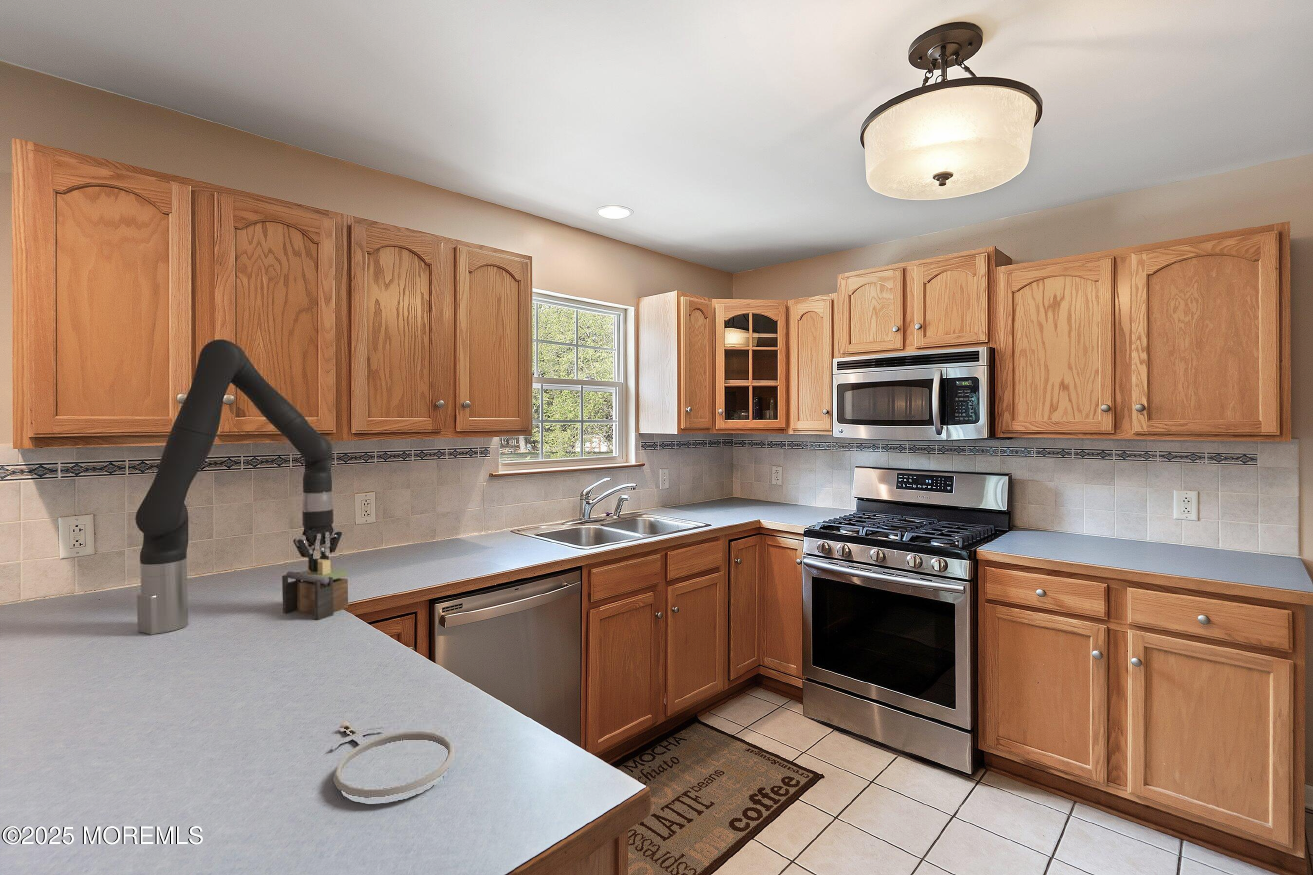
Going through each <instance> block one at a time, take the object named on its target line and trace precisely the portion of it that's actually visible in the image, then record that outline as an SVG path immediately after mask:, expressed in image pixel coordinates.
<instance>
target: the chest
mask: <svg viewBox="0 0 1313 875" xmlns="http://www.w3.org/2000/svg"><path fill="white" fill-rule="evenodd" d="M299 572H300V571H297V573H299ZM328 578H329V583H328V584H321V583H320V581H318V580H317V581H314V582H309V581H303V580H297V579H294V580H291V581H289V578H288V576H287V575H286V574H283V575H282V576H281V580H282V581H281V583H282V584H281V585H282V587H281V588H282V589H281V590H282V592H281V593H282V595H281V596H282V613H283V614H289V613H292V612H295V611H297V612H300V613H301V612H302V613H305V614H311V615H314V619H315V620H316V621H319V620H322V619H325V618H328V617H332V616H334V613H335V612H339V611H342V610H345V609H347V608H349V580H348V578H344V577H341V578H337V579H334V580H333V577H328Z"/></svg>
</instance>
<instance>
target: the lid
mask: <svg viewBox="0 0 1313 875" xmlns="http://www.w3.org/2000/svg"><path fill="white" fill-rule="evenodd" d="M317 559H318V571H317V572H311V571H310V570H309V559H307V570H304V571H297V572H299V573H297V572H296V571H288V572H286V574H285V575H287V576H288V579H293V580H295V579H297V580H301V581H309V582H314V581H317V580H318V581H320V583H321V584H328V583H329V578H328V577H333V580H334V579H337V578H344V577H348V574H349V573H348V570H347V569H341V568H333V567H331V560H330V559H329V560H326V559H320V557H319V558H318V557H317Z"/></svg>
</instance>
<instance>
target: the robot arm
mask: <svg viewBox="0 0 1313 875" xmlns="http://www.w3.org/2000/svg"><path fill="white" fill-rule="evenodd" d="M230 384H232V386H235V388H237V389H238V390H239V391H240V392H242V394H244V395H245V396H246V397H247V398H248V399H249V401H250V402H252V404H253V405H254V406H255V408H256V409H257V410H258V411H259V413H261V414H262V416H263V417H264V418H265V420H267V421H268V422H269V423H270V424H271V425H272V426H273V427H274V428H275V429H276V430H277V431H278V432H279V433H280V434H281V435H282V436H284V437H285V438H286V439H287V440H288V441H289V442H290V443H291V445H292V446H293V447H294V448H295V449H296V450H297V451H298V453H299V454H300V455H301V456H303V458H304V472H303V475H302V499H301V501H302V502H301V509H302V510H301V514H302V515H301V516H302V518H301V523H302V527H303V532H302V534H301V536H300V537H298V538H294V539H293V540H292V541H293V545H294V546H295V548H296V550H297V552H298V553H299V555H300V556H301V558H307V560H309V570H310V571H311V572H317V571H318V559H317V558H318V553H319V559H326V560H330V557H329V556H330V555H331V554H332V553H335V552H336V550H337V548H338V546H339V542H340V540H341V538H342V535H343V532H342V531H337V530H334V527H333V524H334V497H333V496H334V495H333V477H332V465H333V464H332V463H333V444H332V442H331V441H330V440H329V438H327V437H325V436H323V435H322V434H320V433H319V432H318V431H317V430H316V429H315V428H314V427H313V426H312V425H311V424H310V423H309V421H308V420H307V418H306V417H305V416H304V414H302V413H301V412H300V411H299V410H298V409H297V408H296V407H295V406H293V404H292V403H291V402H289V401H288V400H287V399H286V397H284V396H283V395H282V394H281V393H280V392H278V390H276V389H275V388H274V387H273V386H272V385H271V384H270V383H269V382H268V381H267V379H265V378H264V377H263V376H262V375H261V373H260V372H259V371H258V369H256V367H255V366H254V365H253V363H252V362H251V360H250V358H248V356H247V354H246V352H245V351H244V350H243V348H242V347H240V346H239V345H238V344H236V343H234V342H232V341H229V340H227V339H221V338H220V339H219V338H218V339H214V340H211V341H209V342H207V343H206V344H204V346H203V347H202V348H201V351H200V353H199V356H198V360H197V363H196V367H195V372H194V375H193V378H192V382H191V385H190V388H189V390H188V392H187V395H186V397H185V399H184V400H183V402H182V405H181V407H180V409H179V411H178V413H177V415H176V418H175V420H174V422H173V424H172V427H171V430H170V433H169V434H168V438H167V439H166V441H165V442H166V443H165V446H164V448H163V451H162V454H161V458H160V461H159V464H158V467H157V471H156V474H155V476H154V479H153V481H152V483H151V485H150V487H149V489H148V490H147V492H146V494H145V497H144V498H143V500H142V501H141V503H140V505H139V507H138V508H137V511H136V513H135V518H134V519H135V524H136V526H137V528H138V530H139V531H140V532H141V533H142V534H143V540H142V541H143V542H142V546H141V550H140V553H139V568H140V569H139V571H140V572H139V573H140V575H139V576H140V592H138V593H137V594H136V610H137V611H136V612H137V617H136V618H137V632H139V633H142V634H143V633H144V634H148V635H151V636H152V635H157V634H161V633H162V634H163V633H169V632H173V631H174V632H175V631H176V630H177V631H178V630H180V629H183V628H186V626H188V625H189V602H188V601H189V600H188V599H189V597H188V595H189V594H188V560H187V558H188V556H187V552H188V545H189V510H188V508H187V506H186V504H185V500H186V498H187V495H188V493H189V492H188V491H189V489H190V488H191V485H192V482H193V480H194V479H195V477H196V476H197V475H198V473H199V471H200V470H201V468H202V467H203V465H204V463H205V461H206V460H207V458H208V456H209V455H210V452H211V451H212V447H213V445H214V442H215V440H216V438H217V436H218V433H219V428H220V424H221V418H222V411H223V405H224V404H223V403H224V400H225V395H226V393H227V392H228V388H230Z"/></svg>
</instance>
